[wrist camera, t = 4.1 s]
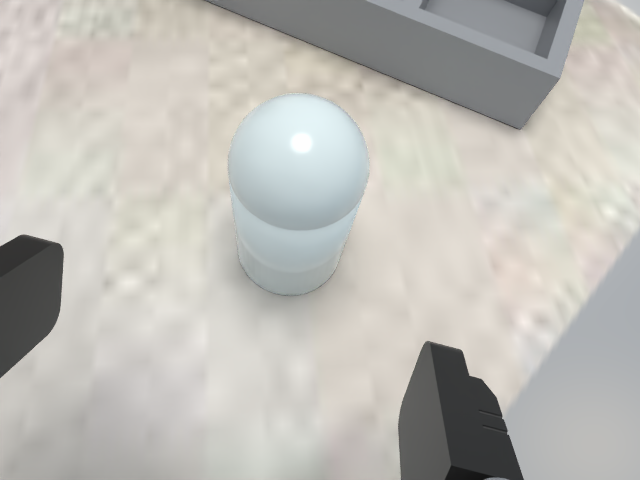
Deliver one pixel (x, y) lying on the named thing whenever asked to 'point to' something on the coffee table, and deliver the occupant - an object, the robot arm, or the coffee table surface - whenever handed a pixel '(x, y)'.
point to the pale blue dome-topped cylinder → (295, 190)
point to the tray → (440, 44)
